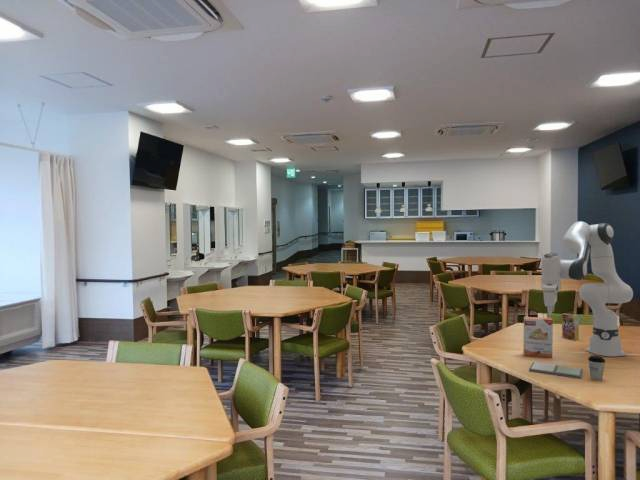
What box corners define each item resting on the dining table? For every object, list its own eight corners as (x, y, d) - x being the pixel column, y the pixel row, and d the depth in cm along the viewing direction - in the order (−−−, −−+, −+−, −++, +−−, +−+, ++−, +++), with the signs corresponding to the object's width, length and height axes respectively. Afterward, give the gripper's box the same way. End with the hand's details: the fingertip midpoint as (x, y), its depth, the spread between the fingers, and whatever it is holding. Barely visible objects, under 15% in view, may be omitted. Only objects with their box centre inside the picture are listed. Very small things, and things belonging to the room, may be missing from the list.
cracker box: (524, 356, 246) (524, 318, 246) (523, 353, 252) (523, 316, 251) (553, 358, 241) (552, 319, 241) (551, 355, 247) (551, 317, 247)
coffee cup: (598, 376, 212) (598, 354, 212) (608, 380, 205) (608, 359, 205) (584, 376, 212) (584, 355, 212) (593, 381, 205) (593, 359, 205)
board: (533, 363, 232) (533, 361, 232) (582, 370, 220) (582, 368, 220) (529, 371, 221) (529, 368, 220) (581, 378, 209) (581, 376, 209)
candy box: (561, 337, 287) (561, 313, 287) (566, 336, 289) (566, 313, 288) (574, 340, 279) (574, 316, 278) (579, 339, 280) (579, 315, 280)
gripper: (546, 283, 238) (546, 309, 239) (541, 287, 221) (541, 315, 221) (560, 283, 235) (560, 310, 235) (555, 288, 218) (555, 316, 218)
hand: (551, 312), depth 228 cm, fingers open, 8 cm apart
